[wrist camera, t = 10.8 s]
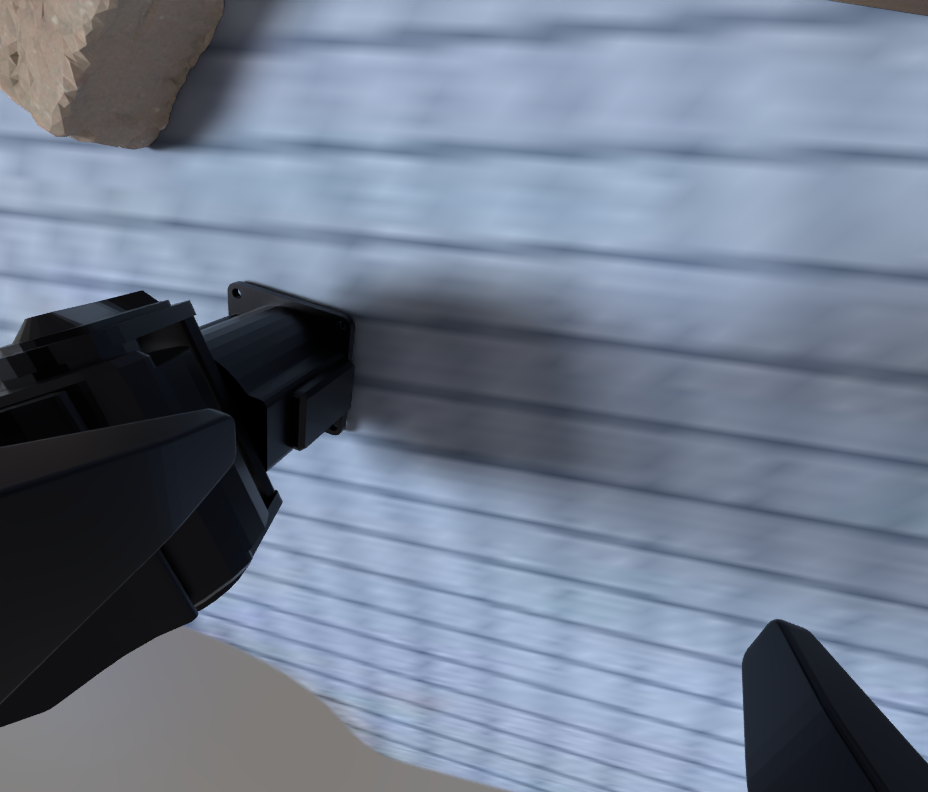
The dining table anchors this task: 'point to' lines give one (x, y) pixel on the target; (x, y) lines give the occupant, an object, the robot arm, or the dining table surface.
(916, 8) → the plate
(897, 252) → the dining table surface
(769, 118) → the dining table surface
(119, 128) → the brick
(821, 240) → the dining table surface
